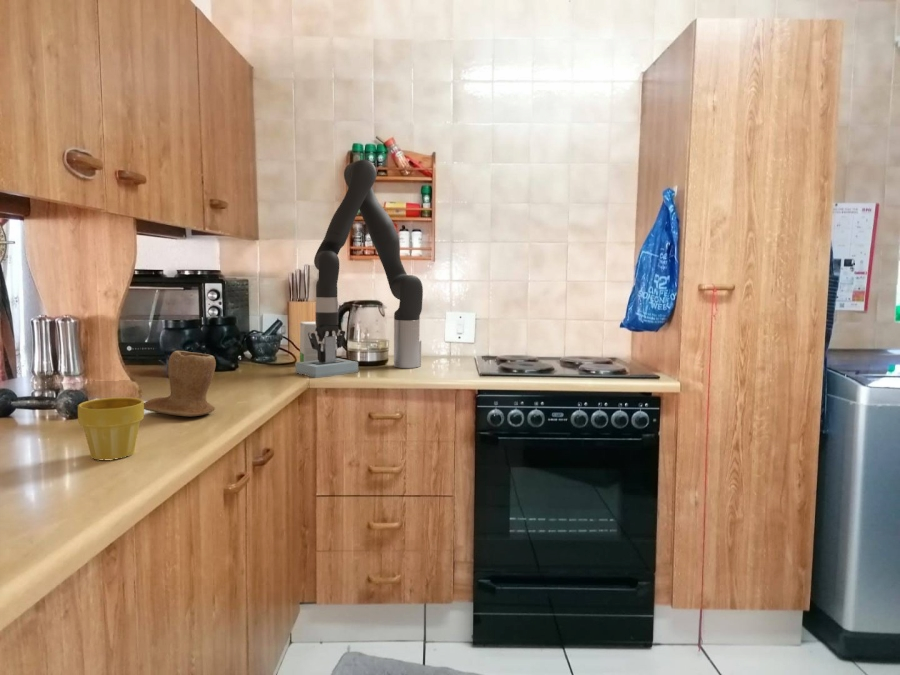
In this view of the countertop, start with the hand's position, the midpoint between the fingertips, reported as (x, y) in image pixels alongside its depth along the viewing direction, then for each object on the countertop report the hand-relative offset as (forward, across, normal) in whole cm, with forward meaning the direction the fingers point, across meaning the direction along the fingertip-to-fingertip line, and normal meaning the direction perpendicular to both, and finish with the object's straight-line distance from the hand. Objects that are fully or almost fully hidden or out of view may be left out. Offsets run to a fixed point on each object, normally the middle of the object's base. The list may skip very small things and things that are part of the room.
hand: (327, 361), depth 196 cm
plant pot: (+4, -80, -49) cm, 94 cm away
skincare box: (+4, +6, +19) cm, 20 cm away
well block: (+4, 0, 0) cm, 4 cm away
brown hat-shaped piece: (+4, -58, -26) cm, 64 cm away
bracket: (+2, 0, 0) cm, 2 cm away
